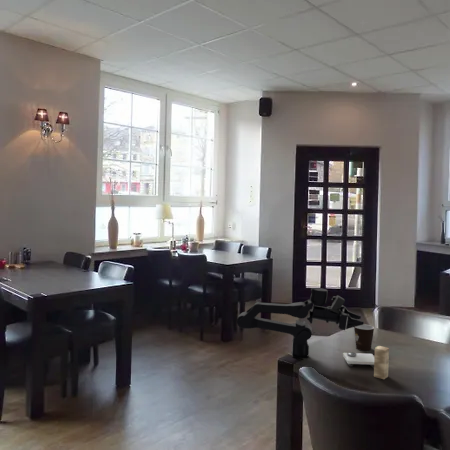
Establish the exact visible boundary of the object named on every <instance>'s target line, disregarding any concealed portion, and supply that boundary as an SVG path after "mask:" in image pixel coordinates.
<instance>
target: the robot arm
mask: <svg viewBox="0 0 450 450" xmlns="http://www.w3.org/2000/svg"><path fill="white" fill-rule="evenodd" d="M310 291H311V292H310V293H311V294H310V298H309V299H307V300H305V301H299V302H298V301H297V302H292V303H274V302H273V303H271V302H260V301H257V302H255V303H254V305H252V306H251V307H249V308H248V310H247V311H243V312H241V313H240V314H239V315H238V317H237V319H236V324H237V326H238V327H239V328H240V329H243V330H244V329H245V330H246V329H247V330H248V329H260V330H261V329H262V330H267V331H272V332H277V333H284V334H286V335H287V334H288V335H291V336H292V341H291V352H290V353H291V357H292V358H300V359H302V358H304V359H305V358H306V359H308V357H309V352H310V350H309V349H310V345H309V344H308V340H310V339H311V337H312V333H313V332H312V326H311V325H310V324H312V323H313V320H317V321H324V322H325V323H326V324H327V323H328V324H329V323H335V324H336V325H337V326H338V329H339V330H342V331H346V330H348V329H353V328H354V327H356V326H360V325H363V324H365V323H364V321H362V320H361V318H362V316H361V315H359V314H356V313H354V312H352V311H350V310H348V309H347V307H346V306H345V305H344V304H345V301H346V300H345V298H343V297H341V296H340V295H338V294H337V295H336V296H332V298H331V301H332V303H331V306H330V305H328V306H326V307H325V306H324V305H325V304H327V298H328V289H325V288H321V287H319V288H317V287H316V288H313V287H312V288H311V289H310ZM261 313H264V314H277V315H288V316H291V317H293V318H299V319H306V320H307V321H308V322H309V323H310V324H309V323H307V322H306V321H305V320H304V321H301V320H298V319H297V320H295V323H288V322H283V321H278V320H272V319H268V318H262V317H259V316H258V315H259V314H261Z"/></svg>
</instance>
